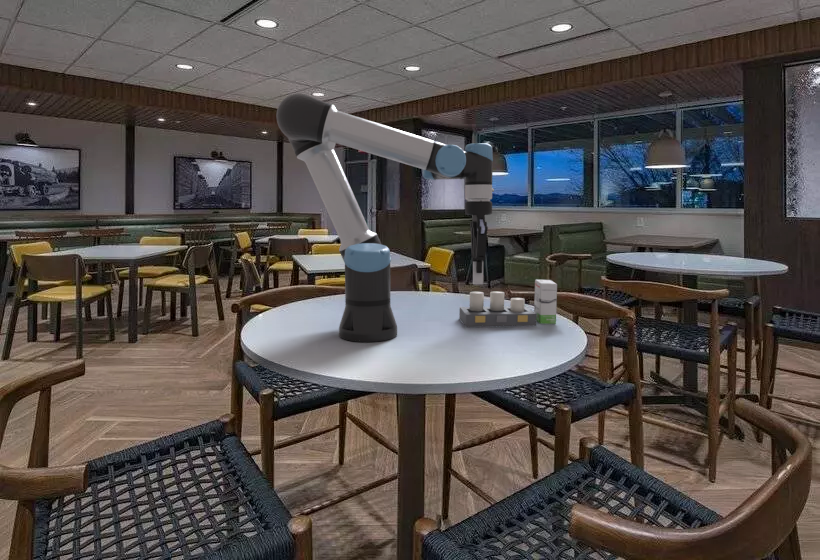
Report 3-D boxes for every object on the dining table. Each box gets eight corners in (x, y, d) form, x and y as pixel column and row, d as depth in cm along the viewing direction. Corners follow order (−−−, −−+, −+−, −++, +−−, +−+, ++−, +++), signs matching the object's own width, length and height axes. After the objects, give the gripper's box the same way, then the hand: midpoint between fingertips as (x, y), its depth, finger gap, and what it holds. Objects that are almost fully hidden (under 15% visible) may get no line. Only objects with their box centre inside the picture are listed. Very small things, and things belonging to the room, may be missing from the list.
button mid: (491, 311, 148) (492, 293, 147) (488, 308, 152) (488, 291, 151) (505, 310, 148) (505, 293, 147) (502, 308, 152) (502, 291, 151)
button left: (470, 311, 148) (471, 294, 147) (468, 308, 151) (468, 291, 151) (484, 311, 148) (485, 293, 147) (481, 308, 152) (482, 291, 151)
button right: (512, 317, 149) (512, 300, 148) (508, 314, 153) (509, 297, 152) (525, 317, 149) (526, 300, 148) (521, 314, 153) (522, 297, 152)
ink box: (556, 324, 148) (558, 283, 147) (539, 324, 148) (540, 283, 147) (549, 317, 157) (551, 279, 155) (533, 317, 157) (534, 279, 155)
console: (466, 327, 144) (466, 314, 144) (459, 318, 155) (459, 307, 155) (536, 326, 146) (537, 313, 145) (525, 317, 157) (525, 306, 156)
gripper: (497, 200, 139) (496, 287, 142) (486, 200, 152) (486, 280, 155) (469, 200, 139) (469, 287, 142) (461, 201, 151) (461, 280, 155)
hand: (478, 283), depth 149 cm, fingers closed
